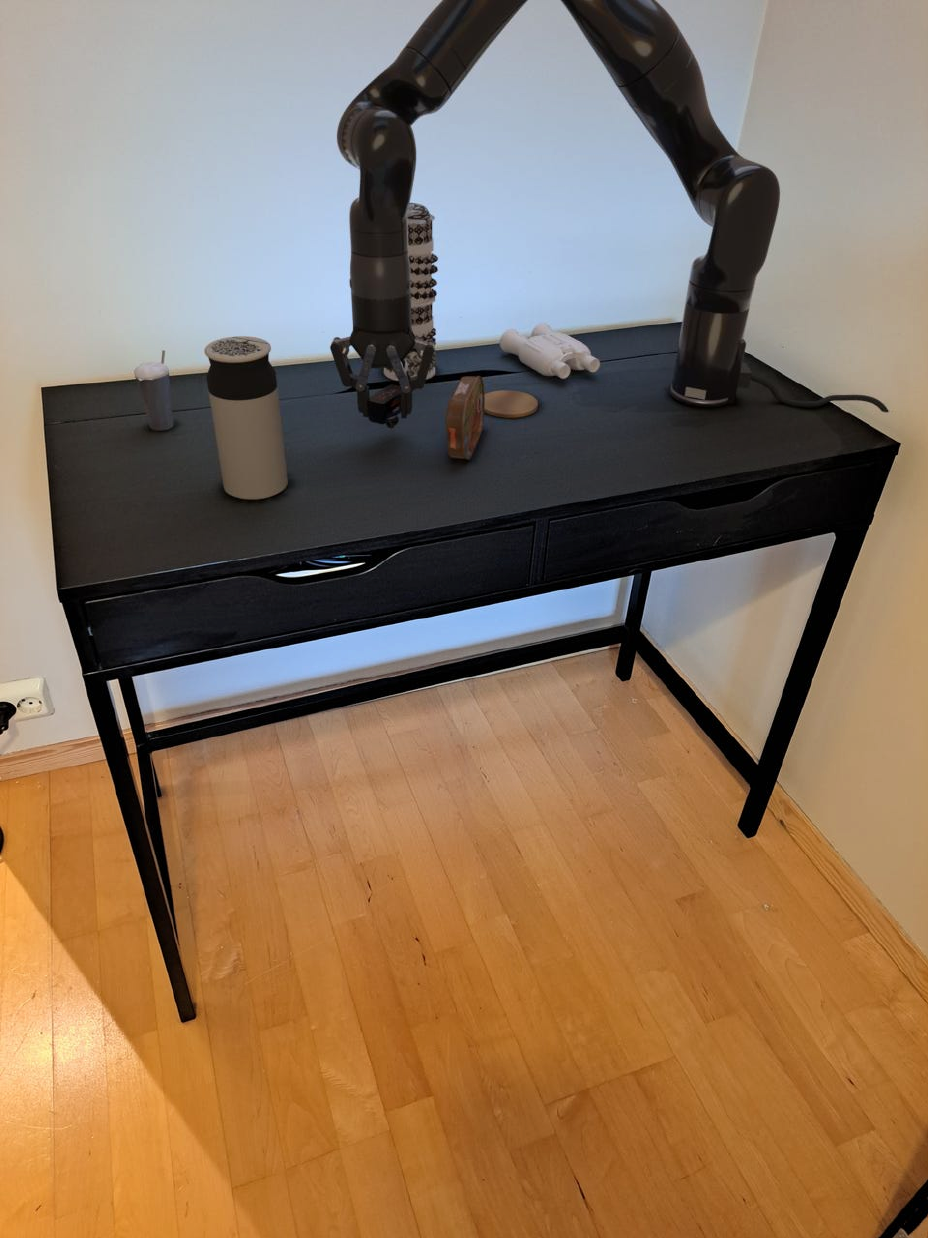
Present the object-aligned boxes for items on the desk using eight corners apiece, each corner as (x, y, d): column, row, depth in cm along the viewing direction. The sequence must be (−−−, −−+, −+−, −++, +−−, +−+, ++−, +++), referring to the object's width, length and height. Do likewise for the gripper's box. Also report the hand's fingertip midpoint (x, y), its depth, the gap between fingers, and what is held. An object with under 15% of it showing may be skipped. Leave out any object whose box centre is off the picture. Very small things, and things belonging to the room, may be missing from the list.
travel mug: (258, 508, 109) (238, 364, 99) (210, 490, 113) (186, 349, 102) (301, 482, 115) (287, 343, 104) (254, 466, 118) (236, 330, 108)
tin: (465, 470, 118) (466, 410, 113) (442, 467, 119) (442, 407, 114) (486, 423, 130) (488, 367, 125) (464, 421, 131) (465, 365, 126)
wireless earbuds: (363, 424, 121) (362, 401, 119) (391, 405, 126) (390, 383, 124) (392, 432, 120) (391, 409, 118) (419, 412, 125) (419, 390, 123)
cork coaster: (537, 394, 139) (537, 390, 139) (538, 418, 132) (539, 414, 132) (479, 392, 139) (479, 388, 139) (477, 416, 132) (477, 412, 132)
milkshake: (189, 421, 129) (177, 353, 123) (164, 435, 125) (150, 365, 119) (163, 415, 131) (150, 347, 125) (138, 429, 127) (123, 359, 121)
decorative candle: (369, 374, 144) (362, 207, 129) (402, 357, 151) (399, 196, 136) (416, 387, 141) (414, 216, 126) (448, 369, 147) (450, 204, 132)
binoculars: (548, 345, 157) (550, 318, 154) (604, 376, 146) (608, 347, 143) (498, 354, 153) (499, 327, 150) (551, 387, 142) (554, 358, 139)
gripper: (439, 280, 115) (439, 406, 125) (328, 276, 115) (337, 402, 126) (436, 298, 109) (436, 429, 119) (318, 294, 109) (328, 425, 120)
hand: (385, 414), depth 122 cm, fingers closed on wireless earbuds, 4 cm apart
